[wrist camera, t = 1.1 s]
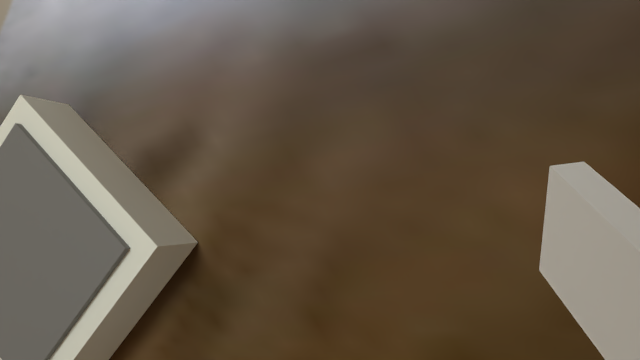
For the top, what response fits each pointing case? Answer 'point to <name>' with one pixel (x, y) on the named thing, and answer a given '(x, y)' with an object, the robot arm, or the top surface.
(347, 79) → the top surface
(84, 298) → the stand
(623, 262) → the robot arm
